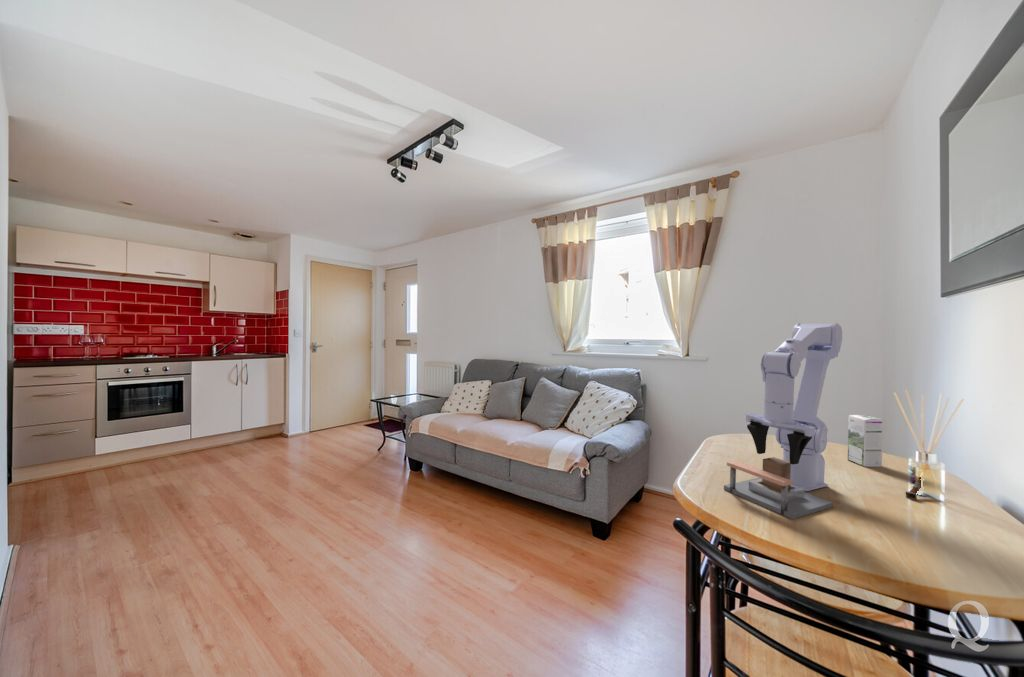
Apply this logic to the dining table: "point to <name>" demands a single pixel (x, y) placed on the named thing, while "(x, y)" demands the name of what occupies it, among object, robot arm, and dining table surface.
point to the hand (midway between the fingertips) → (777, 458)
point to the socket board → (774, 493)
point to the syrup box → (865, 440)
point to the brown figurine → (914, 490)
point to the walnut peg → (776, 471)
